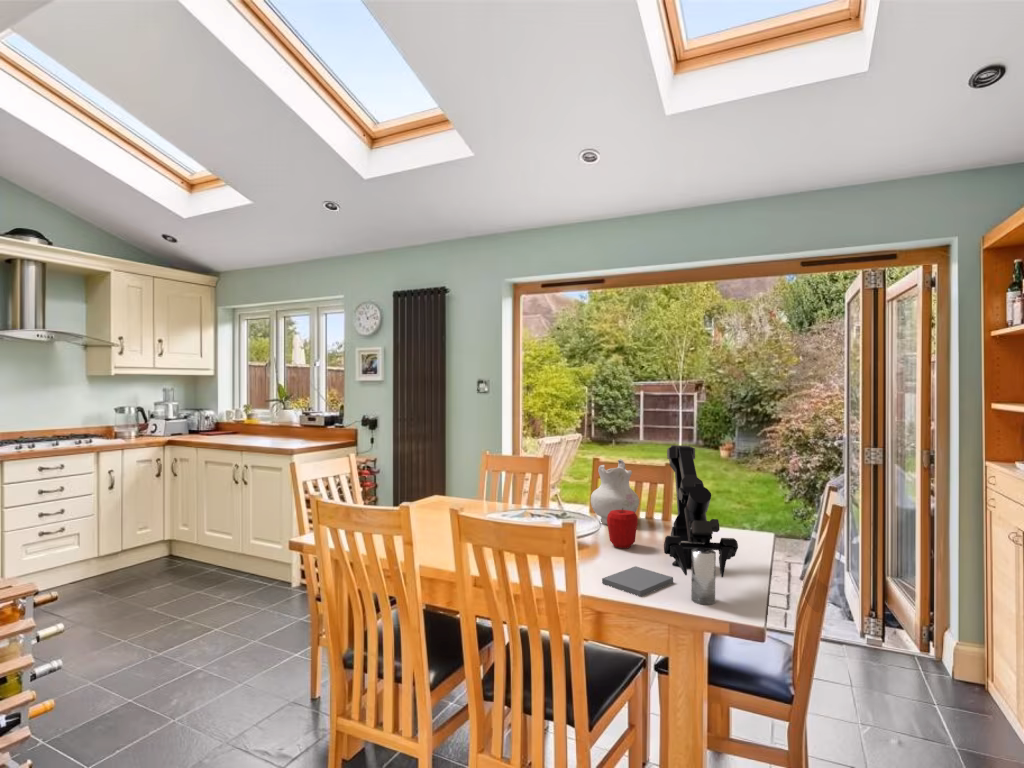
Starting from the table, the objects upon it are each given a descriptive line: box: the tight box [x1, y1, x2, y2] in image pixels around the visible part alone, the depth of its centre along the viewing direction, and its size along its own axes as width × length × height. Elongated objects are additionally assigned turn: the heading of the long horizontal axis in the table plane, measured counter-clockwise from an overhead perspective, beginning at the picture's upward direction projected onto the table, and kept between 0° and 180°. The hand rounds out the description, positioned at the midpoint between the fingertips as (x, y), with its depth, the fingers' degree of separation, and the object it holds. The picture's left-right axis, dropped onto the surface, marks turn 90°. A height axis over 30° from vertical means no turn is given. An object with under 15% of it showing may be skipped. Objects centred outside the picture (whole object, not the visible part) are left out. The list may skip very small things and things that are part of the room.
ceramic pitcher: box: [590, 458, 640, 526], centre depth 234 cm, size 22×20×25 cm
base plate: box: [601, 565, 674, 597], centre depth 162 cm, size 16×13×2 cm
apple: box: [607, 508, 639, 549], centre depth 199 cm, size 10×10×14 cm
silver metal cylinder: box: [690, 548, 717, 606], centre depth 150 cm, size 6×6×13 cm
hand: (704, 575), depth 149 cm, fingers open, 9 cm apart
